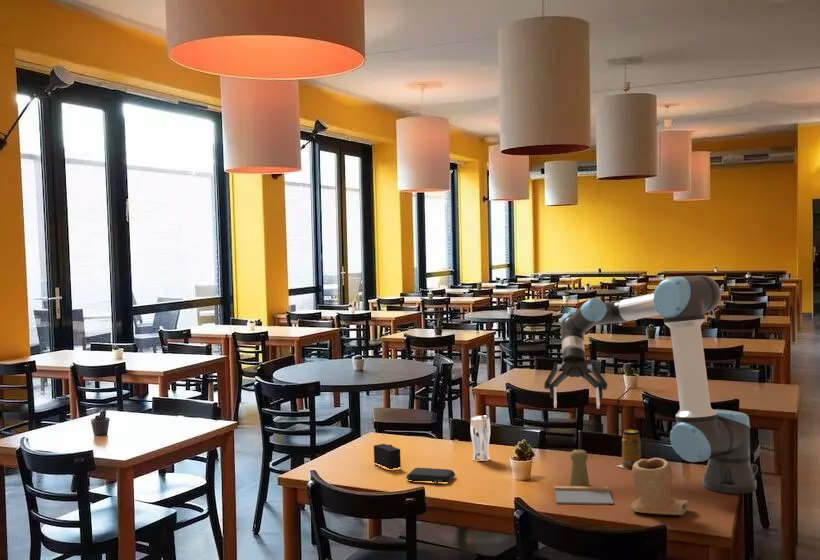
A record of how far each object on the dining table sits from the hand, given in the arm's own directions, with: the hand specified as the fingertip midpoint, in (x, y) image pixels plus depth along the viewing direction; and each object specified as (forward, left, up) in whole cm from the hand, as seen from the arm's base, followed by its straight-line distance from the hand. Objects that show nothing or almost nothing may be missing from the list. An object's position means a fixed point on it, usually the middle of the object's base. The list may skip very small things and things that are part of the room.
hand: (576, 406), depth 255 cm
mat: (-19, +10, -23) cm, 32 cm away
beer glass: (+31, +20, -23) cm, 43 cm away
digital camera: (+37, +52, -23) cm, 68 cm away
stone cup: (-40, -1, -23) cm, 46 cm away
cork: (-9, +5, -23) cm, 25 cm away
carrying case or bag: (+16, +45, -23) cm, 53 cm away
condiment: (+1, -22, -23) cm, 32 cm away
